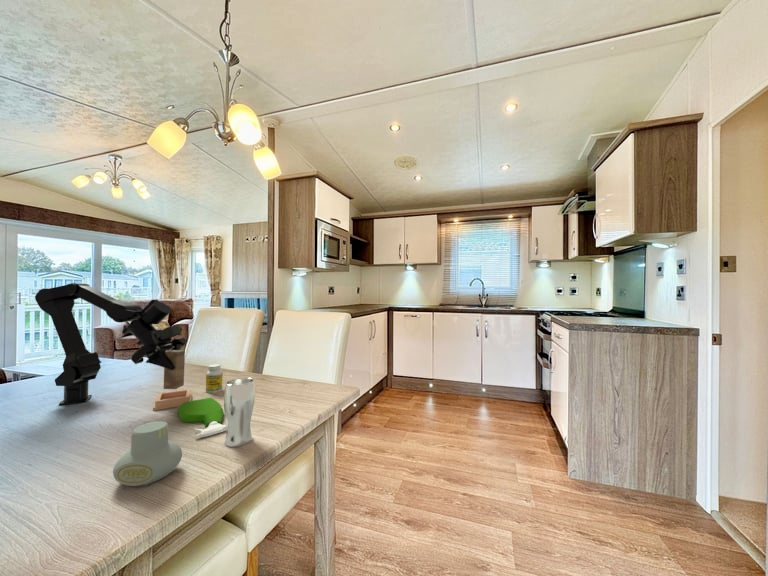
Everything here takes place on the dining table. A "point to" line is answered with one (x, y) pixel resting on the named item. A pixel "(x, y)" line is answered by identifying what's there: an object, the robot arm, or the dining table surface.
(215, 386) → the supplement bottle
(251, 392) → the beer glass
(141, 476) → the air freshener
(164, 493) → the dining table surface
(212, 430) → the spray bottle
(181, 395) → the jar dish
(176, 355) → the brown wooden block
